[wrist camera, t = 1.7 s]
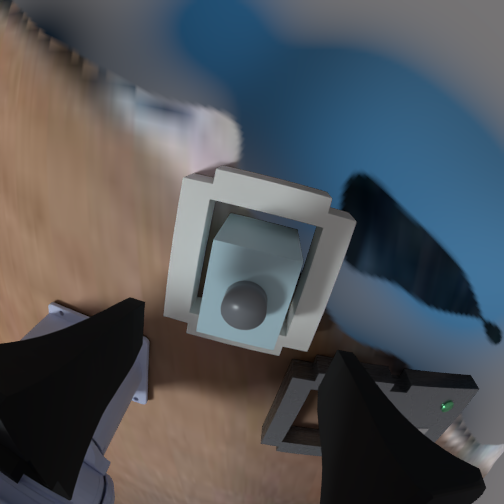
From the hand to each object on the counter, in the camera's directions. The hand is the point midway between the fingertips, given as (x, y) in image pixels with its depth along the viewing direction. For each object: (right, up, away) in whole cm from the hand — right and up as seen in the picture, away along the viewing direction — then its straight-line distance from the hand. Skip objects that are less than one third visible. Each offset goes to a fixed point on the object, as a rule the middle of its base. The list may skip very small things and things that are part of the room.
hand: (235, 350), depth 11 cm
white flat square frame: (+1, +3, +8) cm, 9 cm away
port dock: (+11, -10, +12) cm, 19 cm away
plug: (+1, +3, +8) cm, 9 cm away
